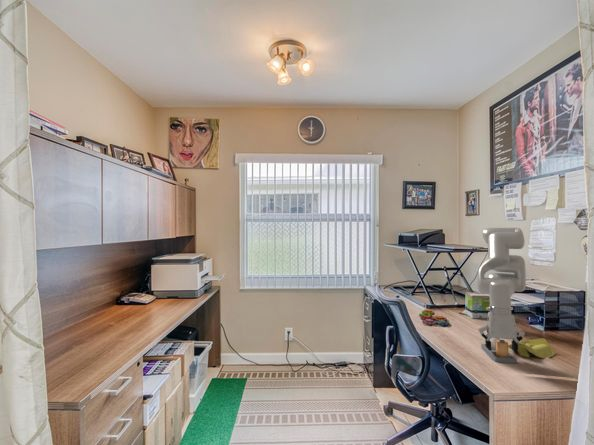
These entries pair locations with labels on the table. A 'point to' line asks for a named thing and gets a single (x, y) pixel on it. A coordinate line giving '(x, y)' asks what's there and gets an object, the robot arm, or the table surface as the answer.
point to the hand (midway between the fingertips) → (501, 350)
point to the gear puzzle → (433, 319)
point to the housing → (493, 356)
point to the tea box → (477, 305)
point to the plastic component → (535, 348)
